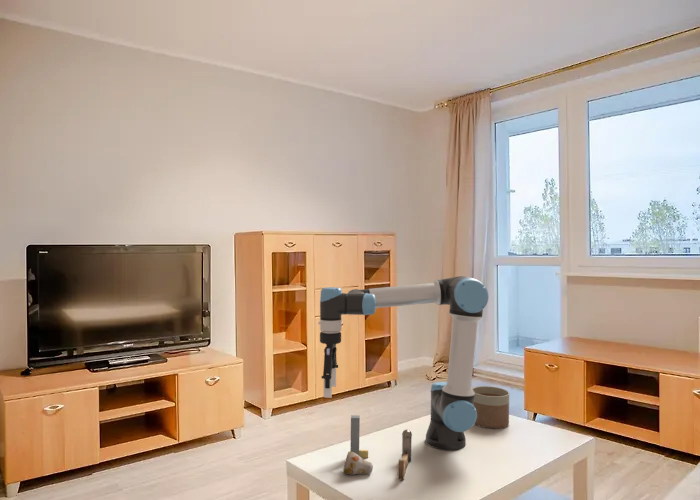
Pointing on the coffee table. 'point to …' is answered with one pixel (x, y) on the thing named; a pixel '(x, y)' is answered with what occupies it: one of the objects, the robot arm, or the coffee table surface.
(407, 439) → the hinge post
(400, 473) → the gate
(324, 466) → the coffee table surface
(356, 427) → the post
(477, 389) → the planter
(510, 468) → the coffee table surface
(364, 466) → the white floral pitcher
